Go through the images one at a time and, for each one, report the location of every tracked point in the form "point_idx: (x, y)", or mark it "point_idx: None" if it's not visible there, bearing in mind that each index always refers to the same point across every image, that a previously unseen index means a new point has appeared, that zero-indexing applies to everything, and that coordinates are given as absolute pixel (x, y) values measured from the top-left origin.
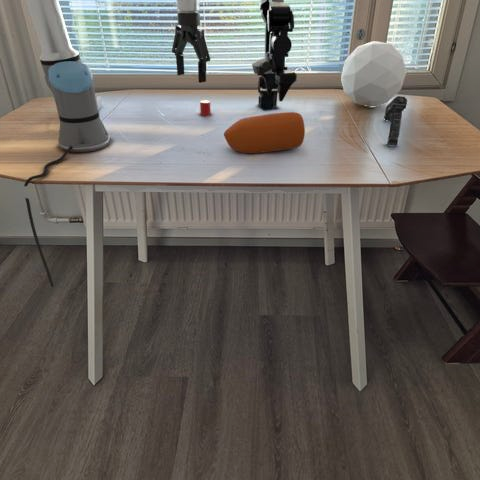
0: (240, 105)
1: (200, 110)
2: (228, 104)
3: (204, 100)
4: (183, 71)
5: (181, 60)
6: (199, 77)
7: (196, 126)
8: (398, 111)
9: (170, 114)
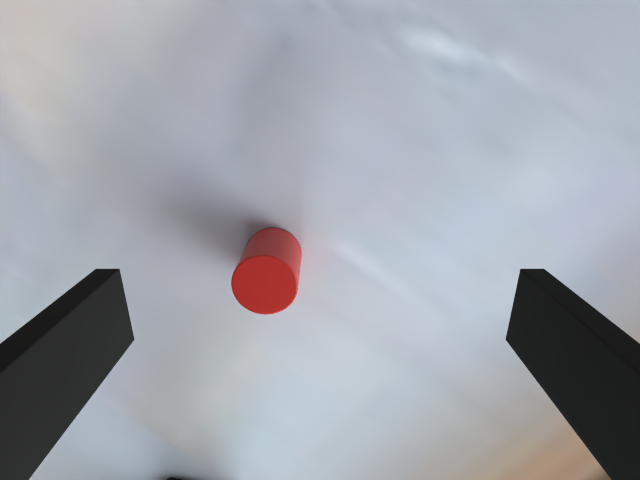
0: (291, 449)
1: (282, 238)
2: (339, 422)
3: (286, 295)
4: (523, 350)
5: (621, 442)
6: (64, 295)
7: (119, 90)
8: None
9: (407, 91)
